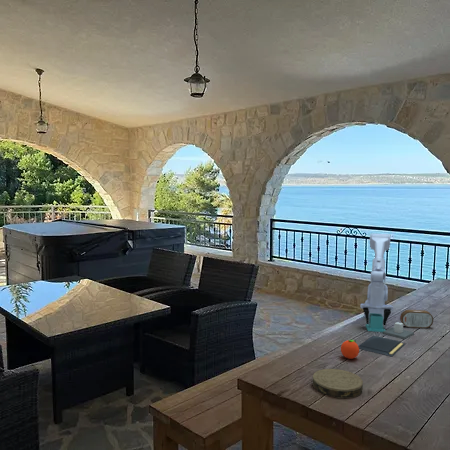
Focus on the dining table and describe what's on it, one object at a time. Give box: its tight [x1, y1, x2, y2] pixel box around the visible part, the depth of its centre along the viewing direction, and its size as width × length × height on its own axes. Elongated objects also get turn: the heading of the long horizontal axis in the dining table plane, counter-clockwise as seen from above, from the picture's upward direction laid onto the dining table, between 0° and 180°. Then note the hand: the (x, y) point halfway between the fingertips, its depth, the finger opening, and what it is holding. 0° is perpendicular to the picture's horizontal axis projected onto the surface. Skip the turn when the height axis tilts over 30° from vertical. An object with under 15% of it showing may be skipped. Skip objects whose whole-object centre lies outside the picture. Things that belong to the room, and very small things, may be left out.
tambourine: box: [312, 368, 364, 399], centre depth 139 cm, size 16×16×3 cm
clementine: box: [340, 339, 360, 360], centre depth 164 cm, size 8×7×7 cm
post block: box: [382, 321, 415, 340], centre depth 194 cm, size 10×10×5 cm
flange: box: [365, 313, 386, 333], centre depth 201 cm, size 8×8×7 cm
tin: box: [399, 309, 434, 329], centre depth 205 cm, size 15×3×8 cm, turn 84°
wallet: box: [358, 335, 406, 358], centre depth 178 cm, size 20×2×15 cm
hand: (375, 324), depth 201 cm, fingers open, 7 cm apart
